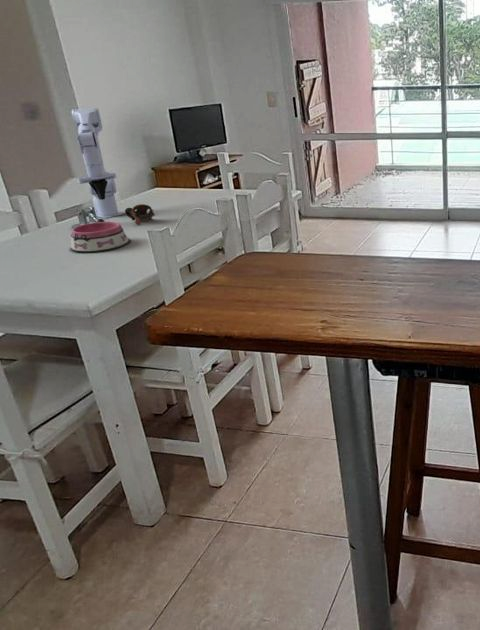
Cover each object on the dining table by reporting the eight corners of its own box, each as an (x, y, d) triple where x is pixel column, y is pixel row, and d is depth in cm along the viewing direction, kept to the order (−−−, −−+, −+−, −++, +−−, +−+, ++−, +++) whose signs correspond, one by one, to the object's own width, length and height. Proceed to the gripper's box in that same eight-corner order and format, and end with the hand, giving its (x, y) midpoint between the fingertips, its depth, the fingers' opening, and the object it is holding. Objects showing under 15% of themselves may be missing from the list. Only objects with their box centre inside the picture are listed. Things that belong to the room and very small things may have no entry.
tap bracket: (107, 226, 231) (102, 206, 228) (85, 231, 224) (80, 211, 221) (94, 223, 236) (89, 204, 233) (72, 228, 229) (66, 208, 226)
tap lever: (107, 226, 225) (106, 220, 224) (99, 228, 223) (99, 221, 221) (88, 213, 230) (87, 206, 228) (80, 215, 228) (79, 208, 226)
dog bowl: (140, 239, 211) (136, 221, 208) (102, 254, 195) (97, 235, 192) (99, 236, 216) (94, 219, 213) (59, 251, 199) (53, 232, 197)
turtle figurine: (159, 219, 240) (157, 204, 234) (151, 234, 234) (148, 219, 228) (130, 213, 239) (127, 198, 233) (121, 228, 233) (117, 213, 227)
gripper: (80, 168, 216) (89, 203, 221) (117, 162, 227) (124, 196, 232) (70, 166, 219) (79, 201, 225) (107, 161, 230) (115, 195, 236)
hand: (102, 199), depth 229 cm, fingers closed
